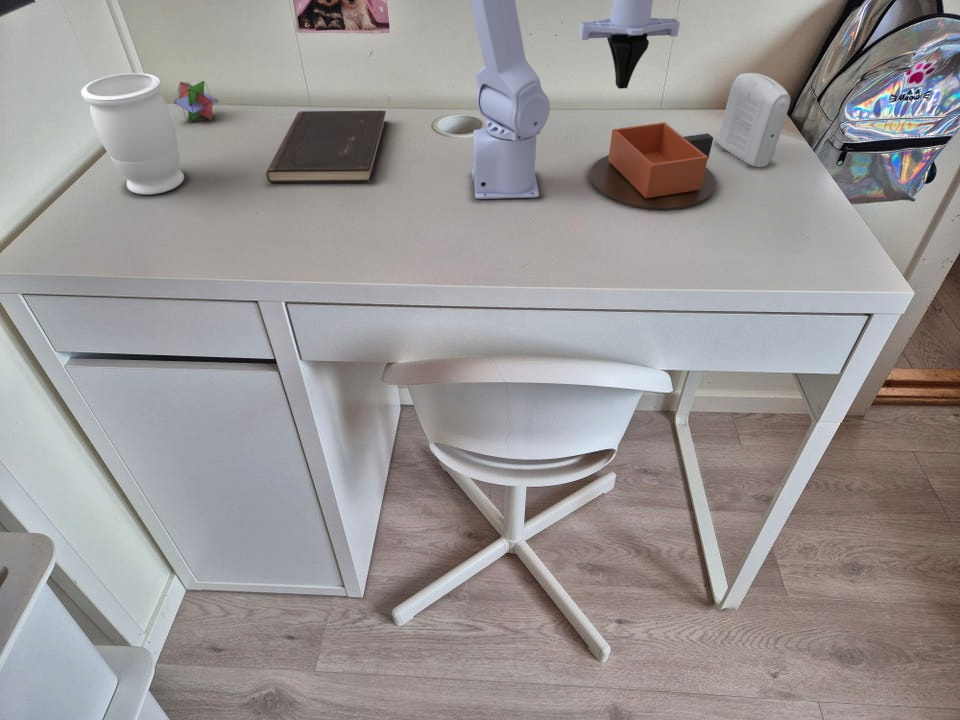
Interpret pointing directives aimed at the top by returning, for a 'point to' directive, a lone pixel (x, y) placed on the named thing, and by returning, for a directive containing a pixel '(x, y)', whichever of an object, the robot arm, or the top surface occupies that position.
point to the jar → (136, 130)
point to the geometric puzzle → (195, 100)
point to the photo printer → (754, 118)
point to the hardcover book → (329, 148)
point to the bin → (660, 158)
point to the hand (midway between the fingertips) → (621, 86)
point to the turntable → (625, 193)
